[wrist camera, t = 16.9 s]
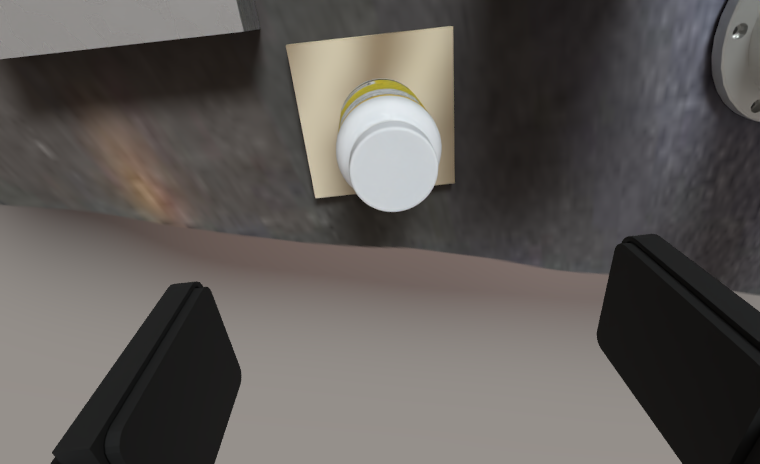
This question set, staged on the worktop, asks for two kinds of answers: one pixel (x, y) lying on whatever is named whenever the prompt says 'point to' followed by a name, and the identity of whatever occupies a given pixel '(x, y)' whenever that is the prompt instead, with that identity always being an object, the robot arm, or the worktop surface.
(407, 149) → the supplement bottle
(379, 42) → the oak board
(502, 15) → the worktop surface
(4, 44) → the socket block
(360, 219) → the worktop surface
